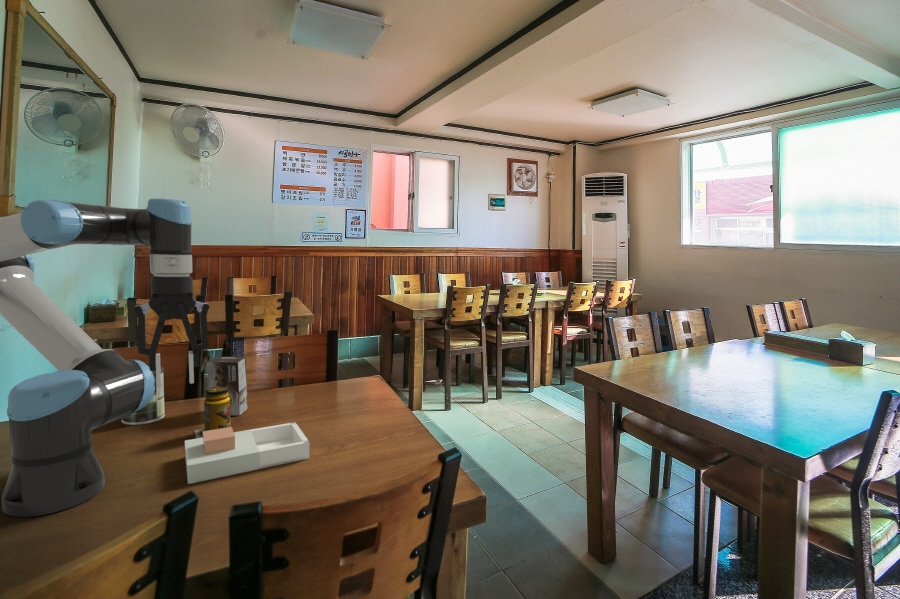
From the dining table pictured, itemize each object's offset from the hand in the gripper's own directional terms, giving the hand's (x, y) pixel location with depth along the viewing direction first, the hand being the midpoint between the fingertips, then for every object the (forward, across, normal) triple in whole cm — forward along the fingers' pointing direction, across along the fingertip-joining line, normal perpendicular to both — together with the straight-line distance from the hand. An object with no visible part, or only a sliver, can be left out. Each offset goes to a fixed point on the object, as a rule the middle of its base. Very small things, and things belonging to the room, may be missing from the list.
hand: (175, 383), depth 98 cm
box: (+20, +21, 0) cm, 29 cm away
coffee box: (+20, +14, +34) cm, 42 cm away
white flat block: (+20, +8, 0) cm, 22 cm away
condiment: (+20, +8, +19) cm, 29 cm away
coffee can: (+20, -8, +39) cm, 44 cm away
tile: (+16, +8, 0) cm, 18 cm away
